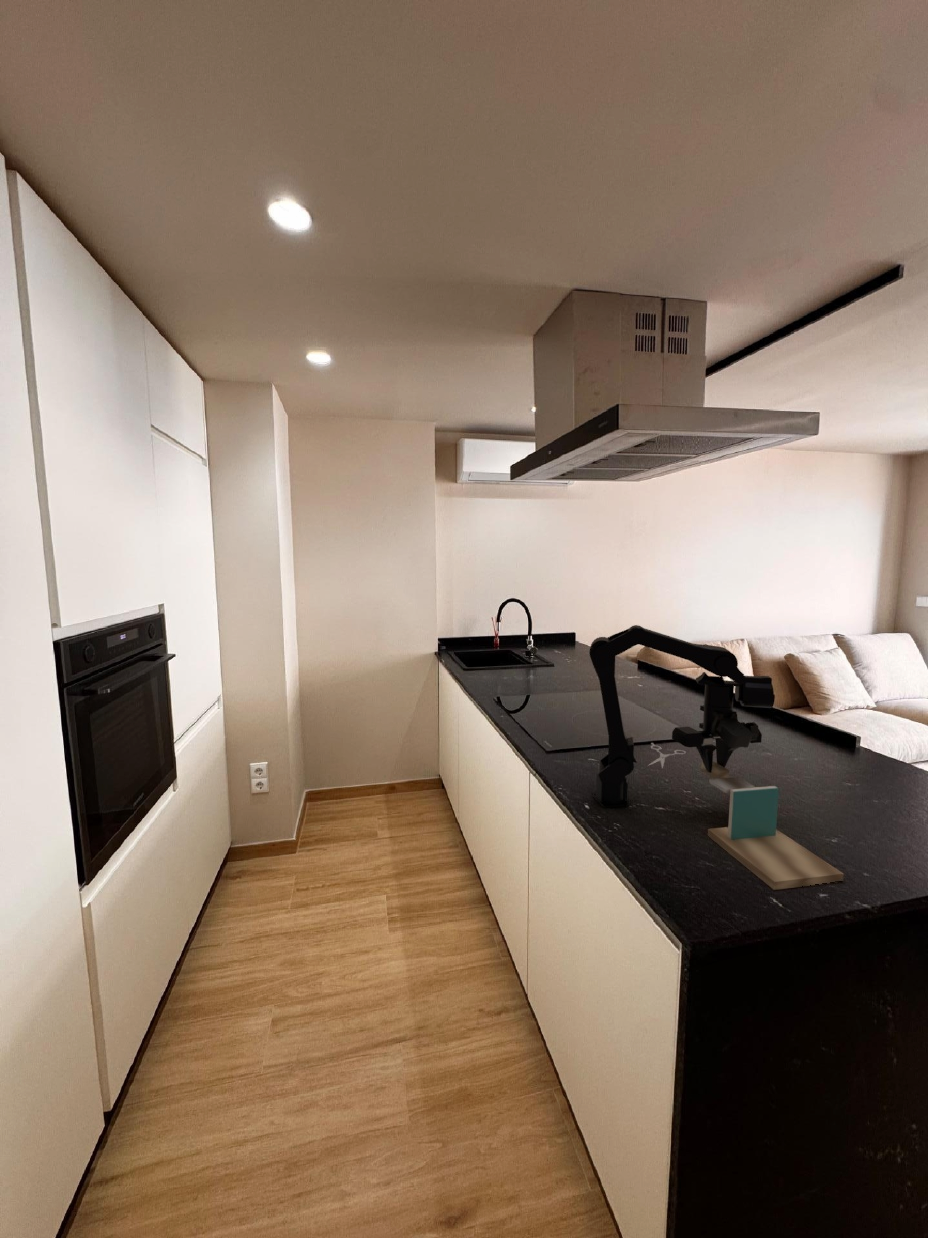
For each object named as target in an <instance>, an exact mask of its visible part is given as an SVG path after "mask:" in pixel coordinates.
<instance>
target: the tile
mask: <svg viewBox="0 0 928 1238" xmlns="http://www.w3.org/2000/svg"><path fill="white" fill-rule="evenodd" d="M754 787H755V786H754ZM779 793H780V788H778V787H777V786H776V785H768V786H757V787H755V788H743V789H731V790H730V795H729V811H728V825H727V827H728V837H729V838H730V839H731V840H735V839H745V838H755V837H765V836H775V835H776V829H777V824H778V823H777V821H778V809H779V808H778V806H779Z"/></svg>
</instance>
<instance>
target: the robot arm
mask: <svg viewBox="0 0 928 1238" xmlns="http://www.w3.org/2000/svg"><path fill="white" fill-rule="evenodd" d="M637 645H639V646H642V647H643V646H644V647H646V648H649V649H652V650H656V651H659V652H662V653H665V654H668V655H671V656H674V657H677V658H679V659H680V658H681V659H683V660H687V661H688V662H691V663H694V665H696V666H698V667H700V668H702V669H704V670H705V671H707V672H709V673H711V674H714V675H708V674H707V672H705V671H704V672H702V673H701V675H699V676H697V677H696V678H695V681H696V683H697V684H698V685H704V698H703V699H704V701H703V705H700V706H699V710H700V711H701V712H703V716H702V717H703V720H702V722H699V724H698V728H700V729H702V730H697V729H694V728H692V727H691V726H677V727H674V728H673V729H672V733H671V739H672V740H673V741H675V742H677V743H679V744H680V745H681V746H684V747H686V748H696V750H697V752H698V753H699V756H700V758H701V762H702V761H703V763H704V766H705V768H706V770H707V772H709V773H711V771H712V764H713V761H714V759H713V758H714V752H715V754H716V755H715V756H716V763H717V764H719V765H721V766H723V767H724V768H726V765H727V764H728V761H729V760H730V757H731V756H732V754H733V753H734V751H736V750H737V749H739V748H748V747H749V746H750V744H757V743H762V741H763V740H762V738H763V734H762V732H761V730H760V729H759V725H758V724H757V723H756V722H754V721H753V722H750V721H749V722H746V723H745V722H742V721H741V722H740V721H739V719H738V713H737V712H738V711H735V710H734V708H733V707H734V699H735V701H736V702H739V703H740V706H741V707H749V708H751V707H753V708H766V709H772V708H773V707H774V705H775V699H776V694H775V692H774V691H775V690H774V686H773V684H772V683H773V678H772V677H770V676H769V675H758V676H757V675H745V674H744V673H743V671H741V670H740V668H739V667H738V666H739V665H738V664H739V662H738V658H737V656H736V655H735V654H734V653H732V652H731V651H730V650H729V649H727V648H725V647H722V646H718V645H712V644H711V645H710V644H701V643H692V642H689V641H685V640H683V639H680V638H676V637H674V636H670V635H667V634H664V633H661V632H657V631H654V630H651V629H648V628H644V627H643V626H641V625H639V624H636V625H635V624H634V625H631V626H630V627H629V628H626V629H624V630H622V631H619V632H617V633H615V634H612V635H610V636H608V637H607V636H599V637H597V638H595V639H594V640H593V641H592V642H591V644H590V648H589V658H590V660H591V663H592V666H593V668H594V671H595V673H596V676H597V678H598V680H599V685H600V694H601V698H602V699H601V700H602V704H603V710H604V716H605V722H606V727H607V735H608V744H607V745H608V749H607V751H608V752H607V754H606V755H605V756H603V757H602V758H601V759H599V762H598V763H599V764H598V773H597V774H596V775H595V776H596V778H595V779H596V780H595V782H596V783H595V793H592V797H593V798H594V799H595V800H596V801H597V802H598V803H599V805H601V806H602V807H603V808H606V809H607V808H618V807H629V806H630V802H628V796H629V795H628V794H629V793H628V792H629V783H628V782H627V777H626V776H629V775H630V774H631V773H632V772H633V771H634V768H635V763H637V761H638V760H637V753H636V750H635V749H634V748H635V745H634V738H633V736H631V737H627V735H626V732H625V729H624V723H623V717H622V712H621V711H622V710H621V703H620V699H619V693H618V688H617V681H616V675H615V674H616V657H617V656H619V655H621V654H623V653H624V652H626V651H628V650H630V649H632V648H634V647H635V646H637ZM715 675H716V676H715ZM724 677H725V678H726V677H727V678H729V679H730V680H725V679H724ZM714 740H715V744H714Z"/></svg>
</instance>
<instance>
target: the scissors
mask: <svg viewBox="0 0 928 1238" xmlns="http://www.w3.org/2000/svg"><path fill="white" fill-rule="evenodd" d="M650 748H651V750H654V751H656V753H658V754H659V757H658V758H656V759H655V760H653V761H652V762H651V763H649V764H648V765H647V767H649V766H651V765H654V764H655V763H657V762H660V766H661V769H664V765H665V761H666V759H667V758H668V757H671V756H675V755H685V754H686V753H687V751H685V750H682V749H676V750H673V752H674V753H670V754H669V753H668V754H664V753H662V752H661V750H662V749H663V748H662V747H661V746H659V745H656V744H654V742H651V743H650ZM680 752H681V753H680Z"/></svg>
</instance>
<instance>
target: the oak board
mask: <svg viewBox="0 0 928 1238" xmlns="http://www.w3.org/2000/svg"><path fill="white" fill-rule="evenodd" d="M707 837H709V838H710V839H711V840H712V841H714V843H716V844H717V845H718V846H719V847H721V848H722V849H723V850H725V851H726V852H727V853H728V854H729V855H730V856H731V857H733V858H734V859H736V861H737V862H739V863H740V864H741V865H742V866H744V867H746V869H748V870H749V871H750V872H752V873H753V874H754V875H755V876H756V877H757V878H759V879H760V880H761V881H762V882H764V883H765V884H766V885H767V886H769V888H771V889H772V890H773V891H776V890H785V889H793V888H802V886H803V887H810V885H811V886H816V885H815V884H819V885H823V884H822V883H827V884H831V883H830V882H835V881H843V882H844V873H843V872H842V871H840V870H839V869H837V868H836V867H834V866H832V865H831V864H829V863H828V862H826V861H825V860H824V859H822V858H821V857H819V856H818V855H816V854H814V853H813V852H812V851H810V850H808V849H807V848H806V847H804V846H803V845H801V844H800V843H798V842H796V840H793V839H792V838H790V837H788V836H787V835H786V834H785V833H783V832H781V831H780V830H778V829H777V828H776V835H775V836H765V837H755V838H745V839H735V840H731V839H730V838H729V837H728V826H724V827H714V828H708V829H707ZM835 883H836V882H835Z"/></svg>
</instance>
